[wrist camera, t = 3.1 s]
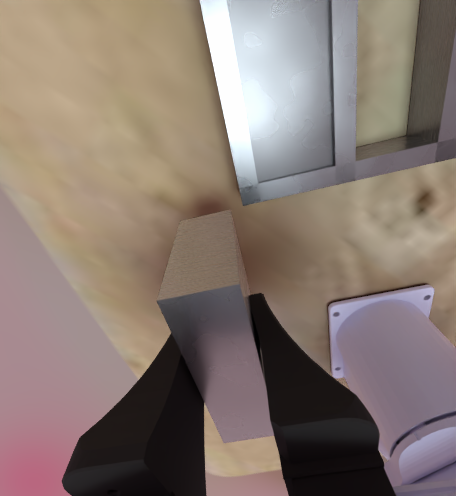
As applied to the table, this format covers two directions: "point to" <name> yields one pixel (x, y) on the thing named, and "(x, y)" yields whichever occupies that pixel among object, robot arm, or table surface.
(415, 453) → the robot arm
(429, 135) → the grey compartment tray
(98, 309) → the table surface
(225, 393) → the panel
